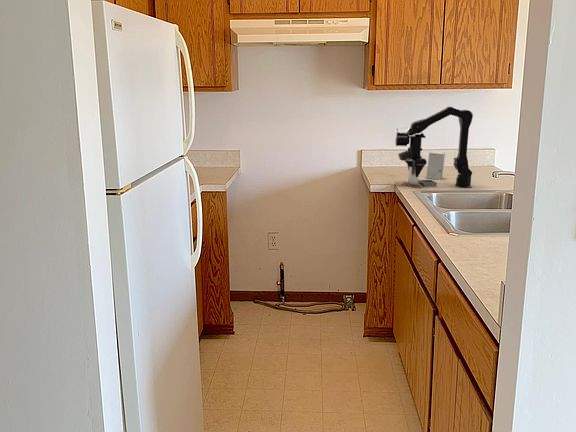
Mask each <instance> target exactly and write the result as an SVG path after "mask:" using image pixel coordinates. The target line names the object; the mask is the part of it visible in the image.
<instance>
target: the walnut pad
mask: <svg viewBox="0 0 576 432" xmlns="http://www.w3.org/2000/svg"><path fill="white" fill-rule="evenodd" d="M403 184H404V185H405V186H407V187H409V186H412V187H423V186H422V185H421V184H419V183H418V184H409V183H408V181H407V182H404V183H403Z"/></svg>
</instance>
